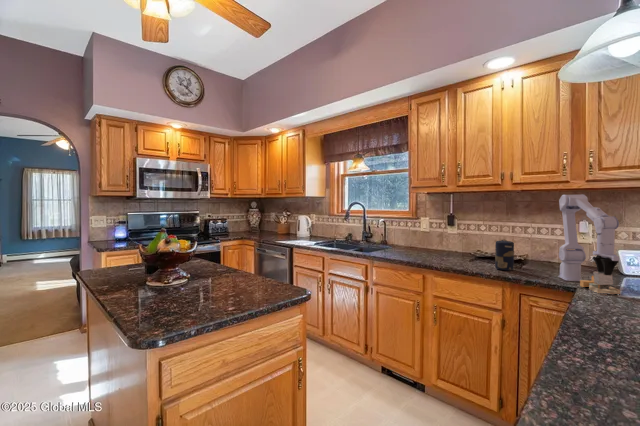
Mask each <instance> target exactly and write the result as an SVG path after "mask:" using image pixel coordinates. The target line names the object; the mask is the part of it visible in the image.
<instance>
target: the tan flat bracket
mask: <svg viewBox="0 0 640 426" xmlns="http://www.w3.org/2000/svg"><path fill="white" fill-rule="evenodd" d="M589 289H590V290H592V291H594V292H597V293H610V294H620V295H621V289H618V288H616V287H613V286H609V285H608V289H606V288H600V289H598V288H596V287H594V286H591V285H589V288H588V290H589ZM590 290H589V291H590ZM592 291H591V292H592ZM594 292H593V293H594Z"/></svg>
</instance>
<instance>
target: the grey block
mask: <svg viewBox="0 0 640 426" xmlns="http://www.w3.org/2000/svg"><path fill="white" fill-rule="evenodd" d="M592 273H593V276H594V283H596V284H599V285H600V286H601V285H602V286H605V285H608V286H609V285H614V281H613V278H614V277H613V274H612V275H605V274H604V271H598V270H597V271H593V272H592Z"/></svg>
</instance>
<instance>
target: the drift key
mask: <svg viewBox="0 0 640 426" xmlns="http://www.w3.org/2000/svg"><path fill="white" fill-rule="evenodd" d="M589 283H594V275H591V280H588V279H582V280H580V281H579V287H581V288H583V287H589ZM594 284H596V283H594ZM598 289H601V285H599V284H598Z"/></svg>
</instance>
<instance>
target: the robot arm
mask: <svg viewBox="0 0 640 426" xmlns="http://www.w3.org/2000/svg"><path fill="white" fill-rule="evenodd" d="M558 205H559V211H560V212H562V213H561V214H562V224H563V225H562V226H563V234H564V235H563V236H564V244H562V245H561V246H560V247H559V252H558V258H559V260H560V261H561V263H560V265H559V275H557V277H558V278H560V279H562V280H564V281H567V282H580V280H583V279H582V277H581V276H582V272H581V271H582V264H583V263H584V262H585V261H586V259H587V254H586V251H585V248H584V247H583V246H582V245H581V244H579V242H578V241H579V240H578V232H577V223H576V222H577V220H576V213H577V212H579V211H581V210H582V211H584V212H585V214H586V217H587V218H589V219H590V220H591V222H593V226H594V227H595V233H596V234H597V236H596V250H592V260H593V261H594V262H595V264H596V265H595V266H596V268H597V272H598V271H604V274H605V275H612V276H613V272H614V269H615V268H616V266H617V264H618V263H619V261H620V256H618V255H616V254H615V238H616V236H615V234H616V233H615V232H616V230H617V229H618V228H619V227H620V222H619V219H618V217H616V216H615V215H612V216H611V215H608V213H606V212H605V211H603V210H602V208H601V207H597V206H595V207H594V206H593V205H592V204H591V202H589V198H588V196H586V195H585V194H584V193H583V194H562V195H561V196H560V198H559V200H558Z"/></svg>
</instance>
